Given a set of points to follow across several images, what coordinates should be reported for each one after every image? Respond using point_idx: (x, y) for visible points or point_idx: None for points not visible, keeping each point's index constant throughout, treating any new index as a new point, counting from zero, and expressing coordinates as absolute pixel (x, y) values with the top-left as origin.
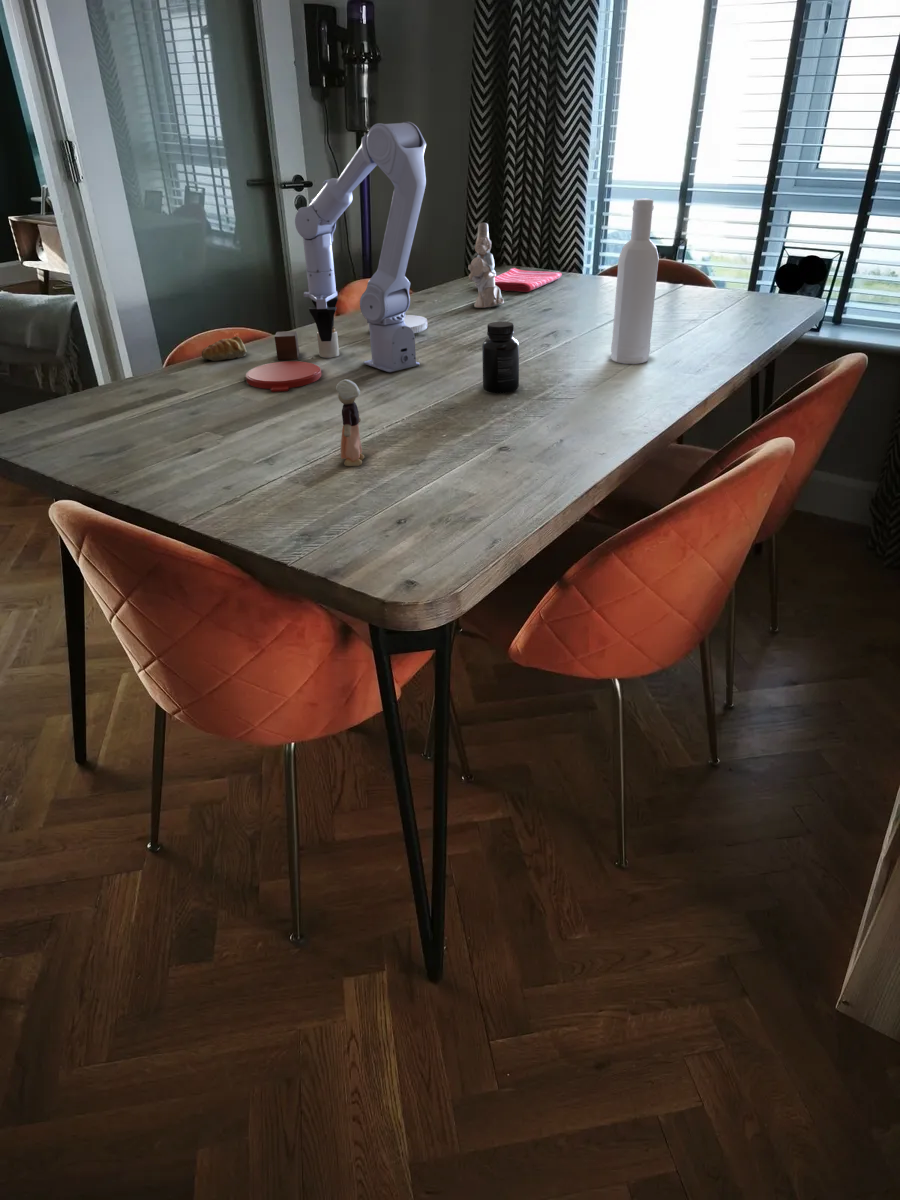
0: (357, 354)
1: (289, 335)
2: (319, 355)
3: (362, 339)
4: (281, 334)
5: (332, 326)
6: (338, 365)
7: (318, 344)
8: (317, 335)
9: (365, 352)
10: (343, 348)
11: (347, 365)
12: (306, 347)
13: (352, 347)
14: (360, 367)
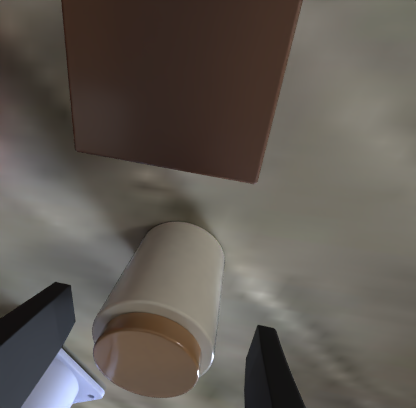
0: None
1: (91, 101)
2: (175, 222)
3: (370, 387)
4: (148, 7)
5: (245, 394)
6: (30, 259)
7: (154, 254)
8: (137, 289)
9: None
10: (268, 316)
11: (30, 282)
12: (382, 187)
13: None
14: (8, 307)
